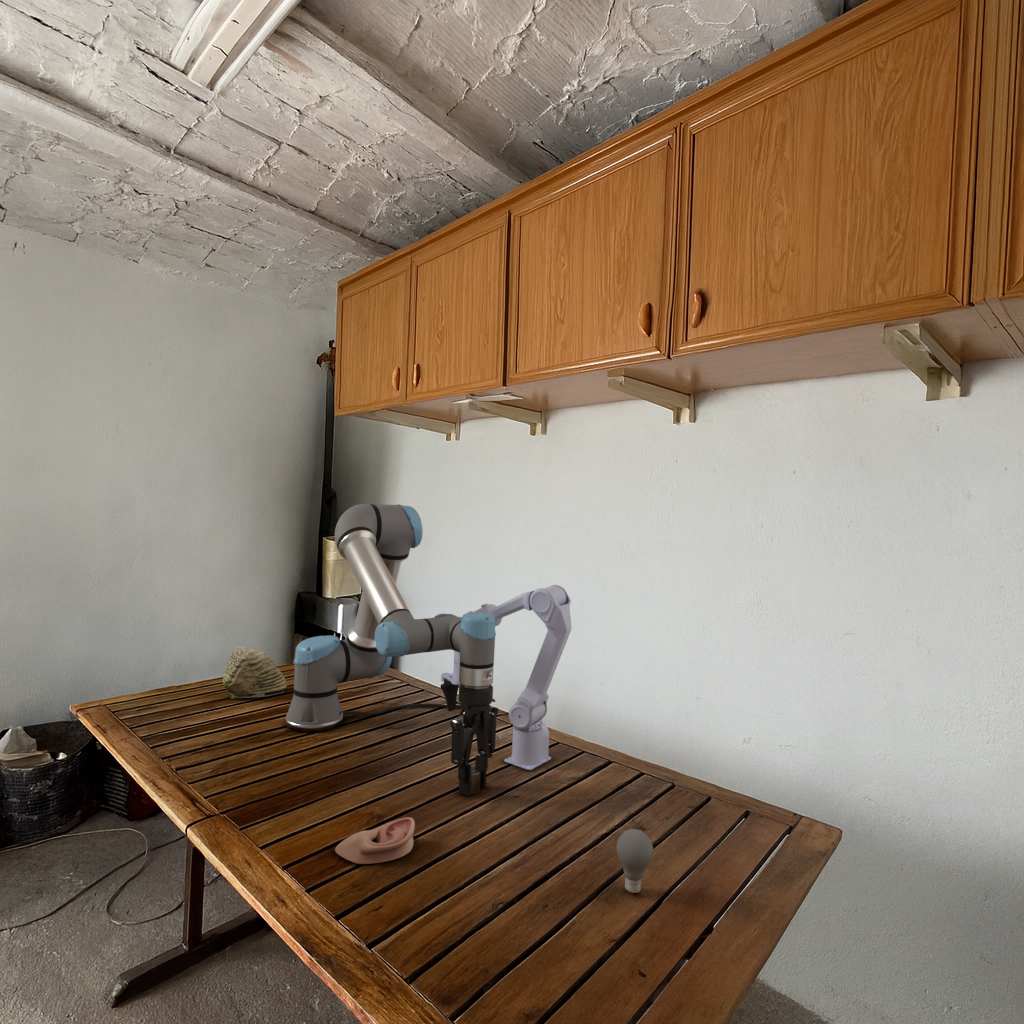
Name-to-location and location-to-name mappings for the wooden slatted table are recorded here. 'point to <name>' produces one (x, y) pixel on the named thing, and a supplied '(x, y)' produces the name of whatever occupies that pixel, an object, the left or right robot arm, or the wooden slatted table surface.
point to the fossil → (252, 674)
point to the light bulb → (634, 857)
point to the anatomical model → (379, 843)
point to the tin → (475, 780)
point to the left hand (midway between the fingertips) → (472, 789)
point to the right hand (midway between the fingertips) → (462, 713)
